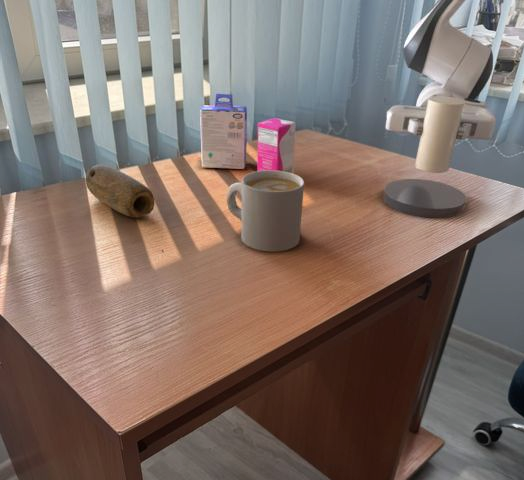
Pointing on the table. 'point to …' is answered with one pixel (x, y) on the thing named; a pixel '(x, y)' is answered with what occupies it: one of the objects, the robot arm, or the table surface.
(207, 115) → the ink cartridge box
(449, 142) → the cream canister
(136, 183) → the stone weight
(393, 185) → the slate plate
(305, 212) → the table surface
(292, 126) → the supplement box
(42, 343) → the table surface
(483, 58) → the robot arm
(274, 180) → the coffee mug
